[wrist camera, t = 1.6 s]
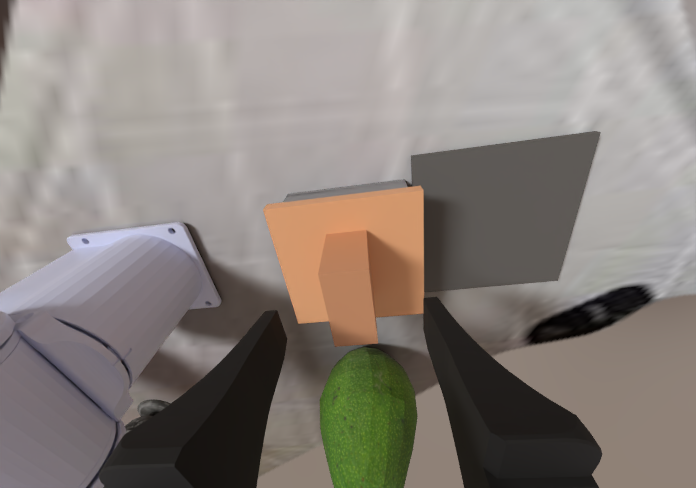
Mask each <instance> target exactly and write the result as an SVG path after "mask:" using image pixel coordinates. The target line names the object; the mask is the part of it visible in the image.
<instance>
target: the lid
mask: <svg viewBox="0 0 696 488" xmlns="http://www.w3.org/2000/svg"><path fill="white" fill-rule="evenodd" d="M263 211H264V214H265V218H266V221H267V224H268V227H269V231H270V234H271V237H272V240H273V243H274V247H275V250H276V253H277V256H278V260H279V263H280V266H281V269H282V272H283V276H284V279H285V282H286V285H287V289H288V292H289V295H290V298H291V301H292V305H293V308H294V311H295V314H296V318H297V321H298V324H301V323H313V322H325V321H329V323H330V328H331V332H332V336H333V340H334V345H335V347H337V346H351V345H364V344H378V337H377V324H376V317H388V316H400V315H412V314H423V298H424V198H423V189H422V187H421V186H414V187H406V188H397V189H389V190H381V191H373V192H365V193H357V194H348V195H340V196H332V197H324V198H316V199H307V200H299V201H291V202H283V203H275V204H267V205H266V206H265V208H264V209H263Z"/></svg>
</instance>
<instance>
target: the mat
mask: <svg viewBox="0 0 696 488" xmlns="http://www.w3.org/2000/svg"><path fill="white" fill-rule="evenodd" d="M599 136H600V132H597V131H594V132H586V133H579V134H571V135H564V136H556V137H548V138H541V139H533V140H526V141H518V142H511V143H503V144H496V145H488V146H481V147H473V148H465V149H458V150H450V151H443V152H435V153H428V154H420V155H413V156H411V167H412V187H414V186H421V187H422V189H423V198H424V292H432V291H444V290H455V289H467V288H478V287H490V286H501V285H512V284H524V283H535V282H547V281H558V278H559V274H560V271H561V267H562V264H563V261H564V257H565V254H566V250H567V247H568V243H569V240H570V236H571V233H572V229H573V226H574V222H575V219H576V216H577V212H578V209H579V205H580V202H581V198H582V195H583V191H584V188H585V184H586V181H587V177H588V174H589V171H590V167H591V164H592V160H593V157H594V153H595V150H596V146H597V143H598V139H599Z"/></svg>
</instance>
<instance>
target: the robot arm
mask: <svg viewBox="0 0 696 488" xmlns="http://www.w3.org/2000/svg"><path fill="white" fill-rule="evenodd" d="M171 228H173V229H174V230H175V232H174V231H173V230H172V229H171ZM67 242H68V244H69V245H70V247H71V248H72V249H73V250H72V251H70V252H68V253H67V254H65V255H63V256H62V257H60V258H58V259H57V260H55V261H53V262H51V263H50V264H48V265H46V266H45V267H43V268H41V269H39V270H38V271H36V272H34V273H33V274H31V275H29V276H28V277H26V278H24V279H22V280H21V281H19V282H17V283H16V284H14V285H12V286H11V287H9V288H7V289H5V290H4V291H2V292H0V488H103V487H104V486H105V487H106V488H256V486H257V479H258V472H259V465H260V459H261V453H262V447H263V441H264V435H265V430H266V424H267V419H268V414H269V410H270V406H271V402H272V399H273V395H274V392H275V388H276V385H277V382H278V378H279V375H280V371H281V368H282V364H283V361H284V356H285V350H286V343H287V337H286V334H285V331H284V328H283V326H282V323H281V320H280V317H279V314H278V311H277V310H275V311H265V312H264V314H263V315H262V316H261V317H260V318H259V319H258V321H257V322H256V323H255V324H254V325H253V326H252V328H251V329H250V330H249V331H248V332H247V334H246V335H245V336H244V337H243V338H242V339H241V340H240V342H239V343H238V344H237V345H236V346H235V347H234V348H233V349H232V350H231V351H230V352H229V353H228V355H227V356H226V357H225V358H224V359H223V360H222V361H221V362H220V363H219V364H218V365H217V366H216V367H215V368H214V369H213V370H211V371H210V372H209V373H208V374H207V375H206V376H205V377H204V378H203V379H201V380H200V381H199V382H198V383H197V384H195V385H194V386H193V387H192V388H190V389H189V390H188V391H187V392H186V393H184V394H183V395H182V396H181V397H179V398H178V399H177V400H175V401H174V402H173V403H171V404H170V405H168V406H167V407H166V408H164V409H163V410H161V411H160V412H159V413H157V414H156V415H154V416H153V417H151V418H150V419H148V420H147V421H145V422H143V423H142V424H140V425H139V426H137V427H136V428H134V429H132V430H131V431H129V432H128V433H126V429H125V426H124V423H123V422H122V421H121V418H122V417H123V415H124V414H125V412H126V411H127V410H128V408H129V407H130V405H131V404H132V403H133V399H132V398H131V397H130V395H129V392H128V390H129V388H130V387H131V386H132V385H133V383H134V382H135V381H136V379H137V378H138V376H139V375H140V374H141V372H142V371H143V370H144V368H145V367H146V366H147V364H148V363H149V362H150V360H151V359H152V358H153V356H154V355H155V354H156V352H157V351H158V350H159V348H160V347H161V346H162V344H163V343H164V342H165V340H166V339H167V338H168V336H169V335H170V333H171V332H172V331H173V329H174V328H175V327H176V325H177V324H178V323H179V321H180V320H181V319H182V317H183V316H184V315H185V313H186V312H187V311H188V310H189V309H200V308H211V307H218V306H219V305H220V304H221V302H222V301H221V298H220V296H219V294H218V292H217V290H216V288H215V286H214V284H213V281H212V279H211V277H210V275H209V273H208V271H207V269H206V267H205V264H204V262H203V260H202V258H201V256H200V254H199V252H198V250H197V247H196V245H195V243H194V241H193V239H192V237H191V235H190V233H189V230H188V228H187V227H186V225H185V224H183V223H181V222H176V223H167V224H159V225H151V226H142V227H134V228H126V229H117V230H109V231H101V232H92V233H84V234H76V235H71V236H70V237H68V238H67ZM208 301H209V302H208ZM210 302H211V303H210ZM423 319H424V333H425V338H426V343H427V347H428V351H429V354H430V357H431V360H432V363H433V366H434V369H435V372H436V375H437V378H438V381H439V384H440V387H441V390H442V393H443V397H444V400H445V403H446V408H447V412H448V416H449V420H450V424H451V429H452V433H453V438H454V442H455V447H456V451H457V455H458V460H459V465H460V470H461V474H462V479H463V484H464V488H599V487H598V485H597V483H596V482H595V480H594V478H593V476H592V473H593V471H594V470H595V469H596V467H597V465H598V464H599V462H600V459H601V457H602V452H601V448H600V447H599V445H598V444H597V442H596V441H595V439H594V438H593V436H592V435H591V434H590V432H589V431H588V430H587V428H586V427H585V426H584V424H583V423H582V422H581V421H580V420H579V418H578V417H577V416H576V415H575V414H572V413H571V412H570V411H568V410H566V409H565V408H563V407H561V406H559V405H558V404H556V403H554V402H553V401H551V400H549V399H548V398H546V397H545V396H543V395H542V394H540V393H539V392H537V391H536V390H534V389H532V388H531V387H530V386H528V385H527V384H526V383H524V382H523V381H521V380H520V379H519V378H517V377H516V376H515V375H513V374H512V373H510V372H509V371H508V370H507V369H505V368H504V367H503V366H502V365H501V364H499V363H498V362H497V361H496V360H495V359H493V358H492V357H491V356H490V355H489V354H488V353H487V352H486V351H484V350H483V349H482V348H481V347H480V346H479V345H478V344H477V343H476V342H475V341H474V340H473V339H472V338H471V337H470V336H469V335H468V334H467V333H466V332H465V330H464V329H463V328H462V327H461V326H460V325H459V324H458V323H457V322H456V320H455V319H454V318H453V317H452V316H451V314H450V313H449V312H448V311H447V309H446V308H445V307H444V305H443V304H442V303H441V301H440V300H439V299H438V298H437V297H431V298H423Z"/></svg>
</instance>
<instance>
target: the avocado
mask: <svg viewBox="0 0 696 488" xmlns="http://www.w3.org/2000/svg"><path fill="white" fill-rule="evenodd" d="M416 423H417V410H416V400H415V392H414V389H413V387H412V384H411V382H410V380H409V378H408V376H407V374H406V372H405V370H404V369H403V367H402V366H401V365H400V364H398V363H397V362H396V361H395V360H394V359H393V358H392V357H390V356H389V355H388V354H386V353H384V352H382V351H380V350H379V349H377V348H368V347H362V348H359V349H356V350H353V351H350V352H348V353H347V354H346V355H345V356H344V357H343V358H342V359H341V360H339V361H338V362H337V364H336V365H335V366H334V368H333V369H332V371H331V373H330V376H329V378H328V381H327V383H326V385H325V388H324V390H323V393H322V396H321V398H320V429H321V434H322V439H323V444H324V449H325V454H326V458H327V462H328V466H329V470H330V474H331V478H332V482H333V485H334V488H404V484H405V480H406V476H407V471H408V467H409V463H410V459H411V455H412V450H413V444H414V436H415V430H416Z"/></svg>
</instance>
